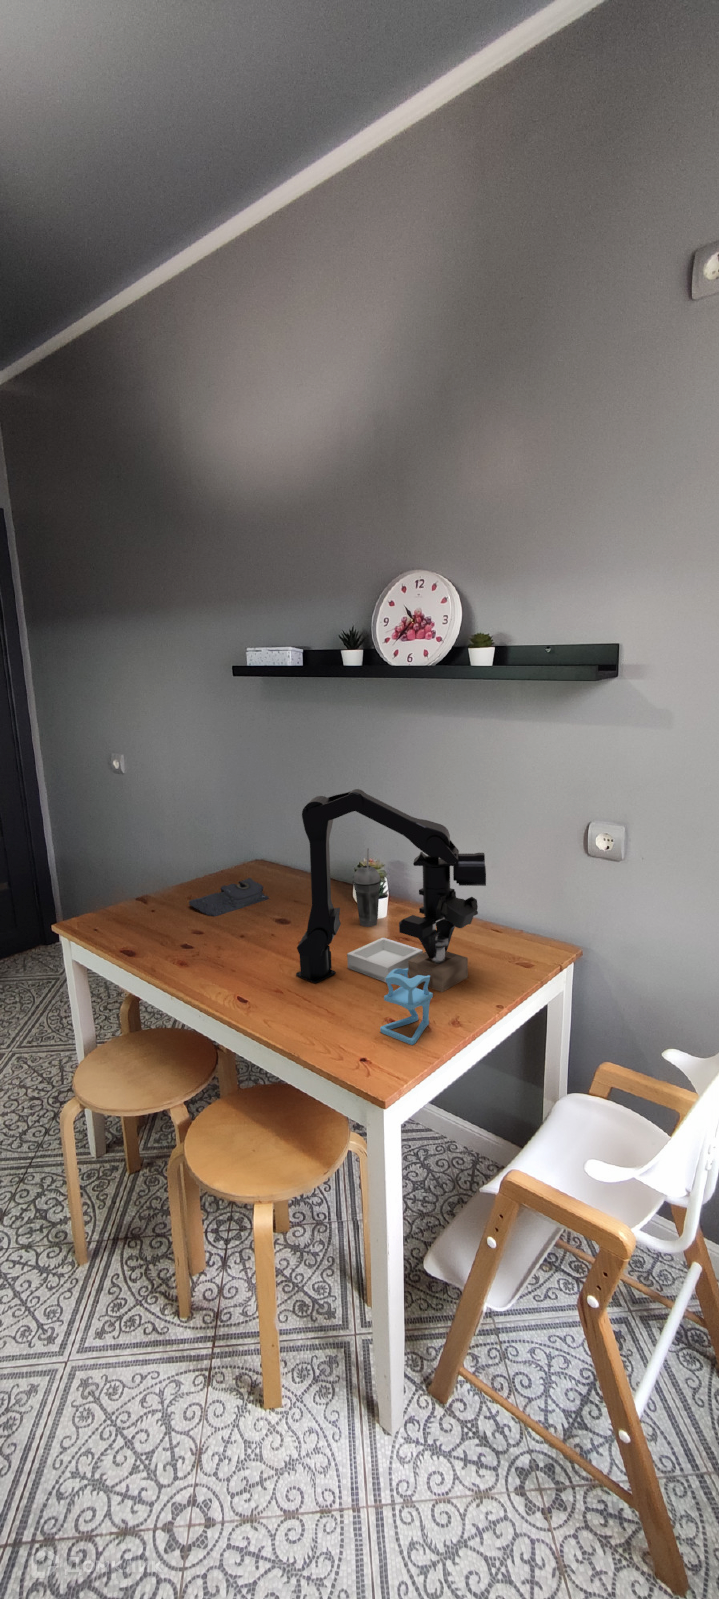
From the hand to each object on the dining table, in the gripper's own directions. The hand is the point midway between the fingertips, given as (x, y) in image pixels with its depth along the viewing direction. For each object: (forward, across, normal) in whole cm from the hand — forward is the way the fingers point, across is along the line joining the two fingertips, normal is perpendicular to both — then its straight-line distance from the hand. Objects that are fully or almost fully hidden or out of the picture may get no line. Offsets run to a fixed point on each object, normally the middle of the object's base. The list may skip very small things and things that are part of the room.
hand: (437, 954), depth 156 cm
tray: (+6, -2, +13) cm, 14 cm away
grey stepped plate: (+6, +2, +78) cm, 78 cm away
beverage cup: (+6, +14, +34) cm, 37 cm away
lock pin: (+6, 0, 0) cm, 6 cm away
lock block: (+6, 0, 0) cm, 6 cm away
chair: (+6, -20, -9) cm, 23 cm away
